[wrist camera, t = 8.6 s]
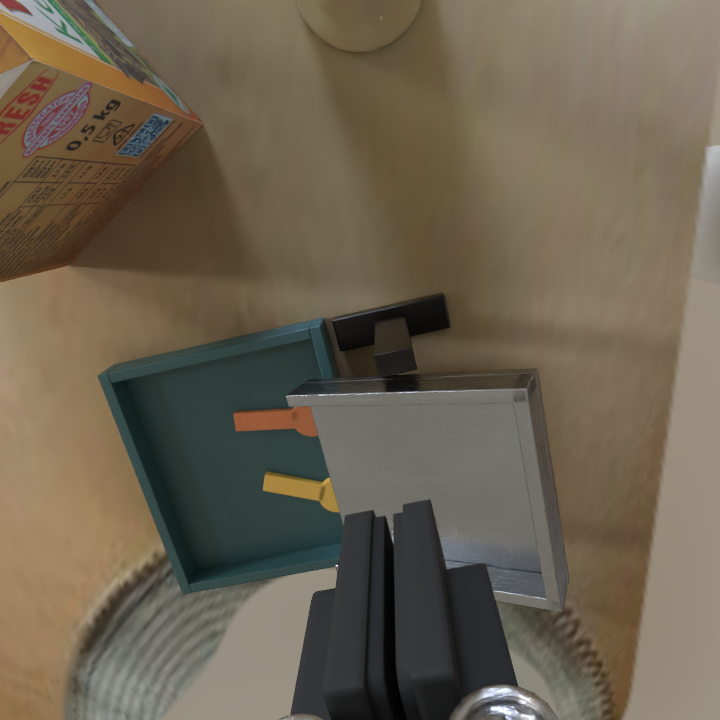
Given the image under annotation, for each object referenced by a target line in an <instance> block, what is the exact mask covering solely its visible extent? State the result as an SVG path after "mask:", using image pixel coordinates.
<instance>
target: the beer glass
mask: <svg viewBox="0 0 720 720" xmlns="http://www.w3.org/2000/svg"><path fill="white" fill-rule="evenodd" d="M422 1H423V0H296V2H297V5H298V8H299V10H300V12H301V14H302V16H303V18H304V20H305V21H306V23H307V24H308V26H309V27H310V28H311V29H312V30H313V32H314V33H315V34H316V35H317V36H319V37H320V38H321V39H322V40H324V41H325V42H327V43H328V44H330V45H332V46H334V47H336V48H339V49H342V50H345V51H350V52H367V51H373V50H376V49H379V48H382V47H384V46H386V45H388V44H390V43H391V42H393V41H394V40H396V39H397V38H398V37H399V36H400V35H401V34H403V33H404V31H405V30H406V29H407V28H408V27H409V26H410V24H411V23H412V22H413V20H414V18H415V17H416V15H417V13H418V11H419V9H420V6H421V4H422Z"/></svg>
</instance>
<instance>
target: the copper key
mask: <svg viewBox="0 0 720 720" xmlns="http://www.w3.org/2000/svg"><path fill="white" fill-rule="evenodd" d="M233 415H234V422H235V429H236V431H255V430H274V429H293V428H295V429H296V430H297V431H298V432H299V433H301V434H303V435H305V436H310V437H313V436H318V433H317V430H316V426H315V423H314V419H313V416H312V412H311V408H310V407H294V408H286V409H267V410H249V411H235V412H234V414H233Z"/></svg>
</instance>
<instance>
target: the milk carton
mask: <svg viewBox="0 0 720 720" xmlns="http://www.w3.org/2000/svg"><path fill="white" fill-rule="evenodd" d="M202 125H203V123H202V122H201V120H200V119H199V118H198V117H197V116H196V115H195V114H194V113H193V111H192V110H191V109H190V108H189V107H188V106H187V105H186V104H185V102H184V101H183V100H182V99H181V98H180V97H179V96H178V95H177V93H176V92H175V91H174V90H173V89H172V88H171V87H170V86H169V84H168V83H167V82H166V81H165V80H164V79H163V78H162V76H161V75H160V74H159V73H158V72H157V71H156V70H155V69H154V67H153V66H152V65H151V64H150V63H149V62H148V61H147V60H146V58H145V57H144V56H143V55H142V54H141V53H140V52H139V51H138V49H137V48H136V47H135V46H134V45H133V44H132V43H131V42H130V40H129V39H128V38H127V37H126V36H125V35H124V34H123V32H122V31H121V30H120V29H119V28H118V27H117V26H116V25H115V23H114V22H113V21H112V20H111V19H110V18H109V17H108V16H107V14H106V13H105V12H104V11H103V10H102V9H101V8H100V7H99V5H98V4H97V3H96V2H95V1H94V0H0V282H3V281H8V280H12V279H16V278H20V277H24V276H28V275H32V274H36V273H40V272H44V271H48V270H52V269H56V268H60V267H65V266H67V265H68V264H69V263H70V262H71V261H72V260H73V259H74V258H75V257H76V256H77V255H78V254H79V253H80V252H81V251H82V250H83V249H84V248H85V246H86V245H87V244H88V243H89V242H90V241H91V240H92V239H93V238H94V237H95V236H96V235H97V234H98V233H99V232H100V231H101V230H102V229H103V228H104V227H105V226H106V225H107V224H108V223H109V221H110V220H111V219H112V218H113V217H114V216H115V215H116V214H117V213H118V212H119V211H120V210H121V209H122V208H123V207H124V206H125V205H126V204H127V203H128V202H129V201H130V200H131V199H132V198H133V197H134V195H135V194H136V193H137V192H138V191H139V190H140V189H141V188H142V187H143V186H144V185H145V184H146V183H147V182H148V181H149V180H150V179H151V178H152V177H153V176H154V175H155V174H156V173H157V172H158V171H159V169H160V168H161V167H162V166H163V165H164V164H165V163H166V162H167V161H168V160H169V159H170V158H171V157H172V156H173V155H174V154H175V153H176V152H177V151H178V150H179V149H180V148H181V147H182V146H183V145H184V143H185V142H186V141H187V140H188V139H189V138H190V137H191V136H192V135H193V134H194V133H195V132H196V131H197V130H198V129H199V128H200V127H201V126H202Z"/></svg>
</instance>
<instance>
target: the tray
mask: <svg viewBox="0 0 720 720" xmlns="http://www.w3.org/2000/svg"><path fill="white" fill-rule="evenodd" d="M98 378H99V381H100V383H101V386H102V389H103V391H104V394H105V396H106V399H107V401H108V404H109V406H110V409H111V412H112V414H113V417H114V419H115V422H116V424H117V427H118V429H119V432H120V435H121V437H122V440H123V442H124V445H125V447H126V450H127V453H128V455H129V458H130V460H131V463H132V465H133V468H134V470H135V473H136V476H137V478H138V481H139V483H140V486H141V488H142V491H143V493H144V496H145V499H146V501H147V504H148V506H149V509H150V511H151V514H152V516H153V519H154V522H155V524H156V527H157V529H158V532H159V534H160V537H161V539H162V542H163V545H164V547H165V550H166V552H167V555H168V557H169V560H170V563H171V565H172V568H173V570H174V573H175V575H176V578H177V580H178V583H179V586H180V588H181V591H182V593H183V594H186V593H191V592H198V591H204V590H209V589H215V588H220V587H226V586H231V585H237V584H242V583H248V582H253V581H259V580H264V579H270V578H275V577H281V576H286V575H292V574H297V573H303V572H308V571H314V570H319V569H325V568H330V567H335V565H336V563H337V562H338V561H339V557H340V549H341V541H342V534H343V523H342V519H341V516H340V512H331V511H329V510H327V509H325V508H324V507H323V506H322V505H321V503H320V501H317V500H311V499H306V498H300V497H295V496H289V495H284V494H278V493H273V492H267V491H263V485H264V478H265V473H266V472H267V471H268V472H273V473H278V474H284V475H289V476H295V477H300V478H305V479H311V480H316V481H322V482H323V481H324V480H326V479H327V478H330V476H329V473H328V469H327V466H326V462H325V458H324V455H323V451H322V448H321V444H320V441H319V437H318V436H313V437H310V436H305V435H303V434H301V433H299V432H298V431H297V430H296V429H295V428H293V429H274V430H255V431H236V429H235V422H234V415H233V414H234V412H235V411H249V410H267V409H286V408H294V407H289V406H288V403H287V399H286V395H287V394H289V393H290V392H291V391H293V390H294V389H296V388H297V387H298V386H300V385H301V384H303V383H304V382H305V381H307V380H308V379H324V378H339V375H338V371H337V367H336V364H335V360H334V356H333V352H332V348H331V344H330V340H329V337H328V333H327V329H326V325H325V321H324V318H319V319H315V320H310V321H306V322H301V323H297V324H292V325H288V326H284V327H279V328H275V329H270V330H266V331H261V332H257V333H253V334H248V335H244V336H239V337H235V338H230V339H226V340H222V341H217V342H213V343H208V344H204V345H199V346H195V347H191V348H186V349H182V350H177V351H173V352H168V353H164V354H159V355H155V356H151V357H146V358H142V359H137V360H133V361H128V362H124V363H120V364H115V365H113V366H111V367H110V368H108V369H107V370H105V371H104V372H102V373H101V374H99V375H98Z"/></svg>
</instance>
